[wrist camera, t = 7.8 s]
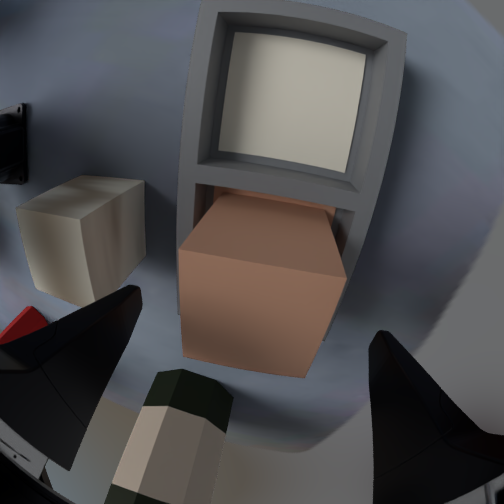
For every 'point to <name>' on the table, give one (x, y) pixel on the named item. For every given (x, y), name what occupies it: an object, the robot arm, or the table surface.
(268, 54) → the pocket frame
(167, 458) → the wine bottle
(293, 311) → the terracotta block
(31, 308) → the french fries
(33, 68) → the table surface
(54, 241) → the ivory block
